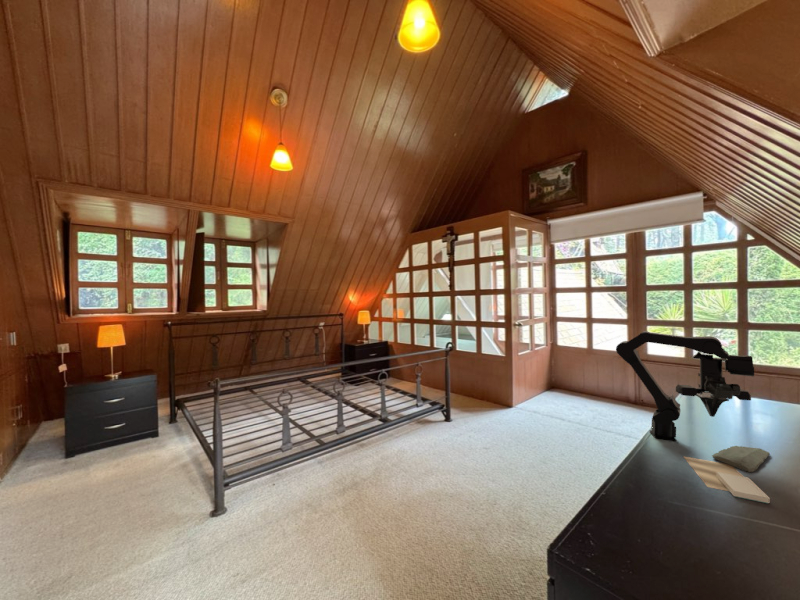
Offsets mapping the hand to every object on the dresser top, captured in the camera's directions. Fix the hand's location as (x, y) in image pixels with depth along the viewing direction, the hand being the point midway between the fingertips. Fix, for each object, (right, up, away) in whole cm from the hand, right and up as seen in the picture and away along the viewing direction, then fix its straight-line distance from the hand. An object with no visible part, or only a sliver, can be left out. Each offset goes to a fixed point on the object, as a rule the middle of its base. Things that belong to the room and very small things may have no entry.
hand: (712, 416), depth 113 cm
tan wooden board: (-13, -13, -16) cm, 24 cm away
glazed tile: (-12, -11, -19) cm, 25 cm away
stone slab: (+5, -12, -6) cm, 14 cm away
